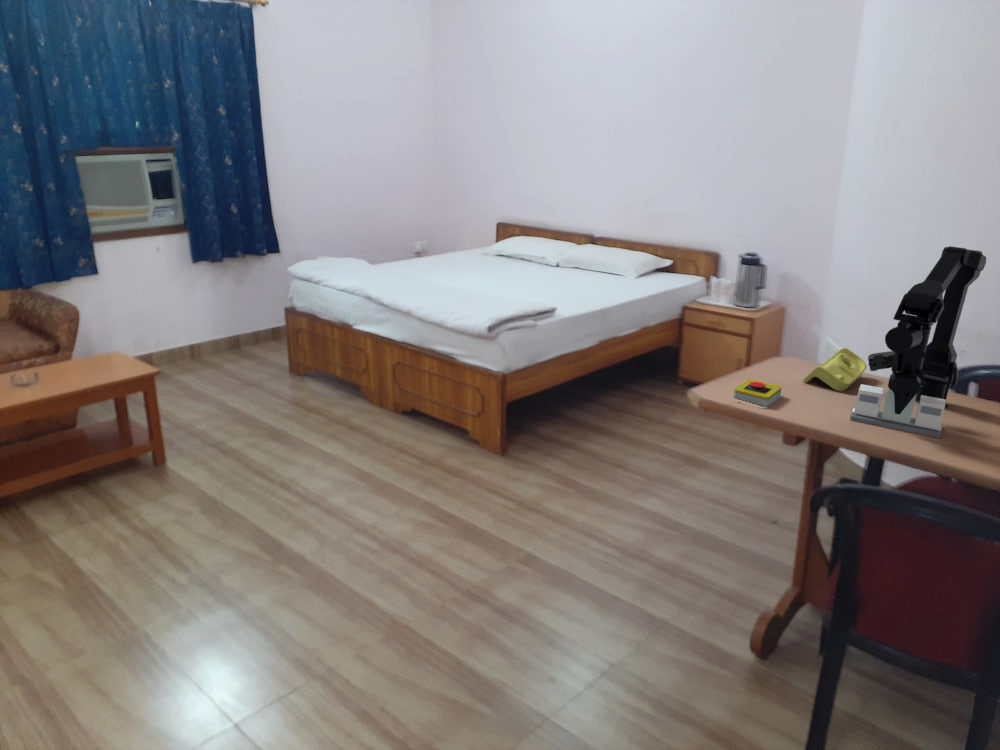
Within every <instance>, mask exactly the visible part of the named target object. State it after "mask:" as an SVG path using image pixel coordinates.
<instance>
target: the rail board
mask: <svg viewBox="0 0 1000 750" xmlns="http://www.w3.org/2000/svg"><path fill="white" fill-rule="evenodd" d="M883 393H884V388H883V387H877V386H873V385H868V384H862V383H861V384H860V385H859V388H858V393H857V396H856V401H855V405H854V407H853V409H852V411H851V415H850V419H849V420H850V421H854V422H859V423H863V424H868V425H873V426H878V427H882V428H888V429H893V430H897V431H902V432H908V433H912V434H917V435H923V436H928V437H931V438H937V439H941V436H942V430H943V429H942V428H943V426H942V425H943V424H942V420H943V416H944V412H945V408H946V407H945V403H946V402H945V399H940V398H934V397H929V396H923V395H921V398H920V402H918V403H919V404H918V406H917V410H916V415H915V417H911V420H910V424H906V423H901V422H896V421H891V420H886V419H881V418H882V413H883V411H880V406H881V402H882V397H883Z"/></svg>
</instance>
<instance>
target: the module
mask: <svg viewBox="0 0 1000 750" xmlns="http://www.w3.org/2000/svg"><path fill="white" fill-rule="evenodd" d="M915 399H916V395H915V396H914V397H913V398H912V400H911V401H910V402H909V403H908V405H907V406H906V407H905V408H904V410H903V411H902V412H901V414H895V404H894V393H893V391H892V390H891V389H889V388H888V387H887V390H886V394H885V400H884V404H883V409H882V412H883V413H882V418H881V419H886V420H891V421H896V422H901V423H906V424H910V420H911V418H912V415H913V411H914V406H915V402H916V400H915Z"/></svg>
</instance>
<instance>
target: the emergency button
mask: <svg viewBox="0 0 1000 750" xmlns="http://www.w3.org/2000/svg"><path fill="white" fill-rule="evenodd" d="M783 396H784V393H782V386H780V385H775V384H772V383H768V382H763V381H758V380H755V379H747V380H746V381H743V382H742V383H741V384H739V385H738V386H736V387H734V390H733V393H732V397H731V398H735V399H738V400H742V401H745V402H749V403H752V404H756V405H759V407H760V408H762V409H761V410H767V409H768V408H769V407H771V406H772V405H774V403H776V402H777V401H778V400H780V397H781V398H782V397H783ZM770 405H771V406H770ZM760 408H759V409H760ZM766 408H767V409H766Z"/></svg>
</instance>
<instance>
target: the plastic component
mask: <svg viewBox="0 0 1000 750" xmlns="http://www.w3.org/2000/svg"><path fill="white" fill-rule="evenodd" d="M866 370H867V364H866V362H865V361H864V360H863V359H862V358H861V357H860V356H859V355H857V354H856V353H854V352H853V351H851V350H850V349H849V348H846V347H844V348H841V349H840V350H838V352H836V353H835V354H834V355H833V356H832V357H831V358H829V359H828V360H826V362H825V363H823V364H822V365H819V366H817V367H815V368H814V369H813V370H812V371H811V372H810V373H809V374H808V375H806V376H805V378H803V380H802V382H804V383H807V384H808V382H810V381H811V380H813V379H814V378H818V380H821V381H822V382H823V383H825V384H826V385H828V386H829V387H830V388H832V389H833V390H835V391H837V392H844V391H846V390H847V389H848V388H849V387H850V386H852V385H853V384H854V383H855V382H857V380H859V379H858V378H860V377H861V376H862V375H863V374H864V372H865V371H866Z"/></svg>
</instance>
